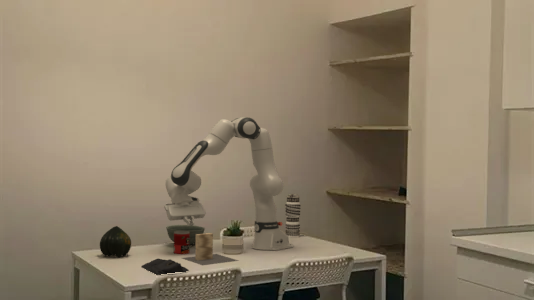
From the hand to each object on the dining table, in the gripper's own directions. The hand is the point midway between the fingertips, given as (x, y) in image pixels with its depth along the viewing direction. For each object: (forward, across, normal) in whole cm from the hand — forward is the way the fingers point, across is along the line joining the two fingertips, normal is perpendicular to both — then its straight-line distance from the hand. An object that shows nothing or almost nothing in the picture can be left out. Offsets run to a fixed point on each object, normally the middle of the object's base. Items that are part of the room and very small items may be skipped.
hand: (191, 224), depth 313 cm
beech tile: (+19, 0, +2) cm, 19 cm away
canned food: (+6, -1, +16) cm, 17 cm away
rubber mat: (+21, +2, +1) cm, 21 cm away
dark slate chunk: (+26, -26, -4) cm, 37 cm away
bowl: (-8, +12, +30) cm, 33 cm away
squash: (-3, -31, +25) cm, 40 cm away
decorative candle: (-3, +81, +25) cm, 85 cm away
